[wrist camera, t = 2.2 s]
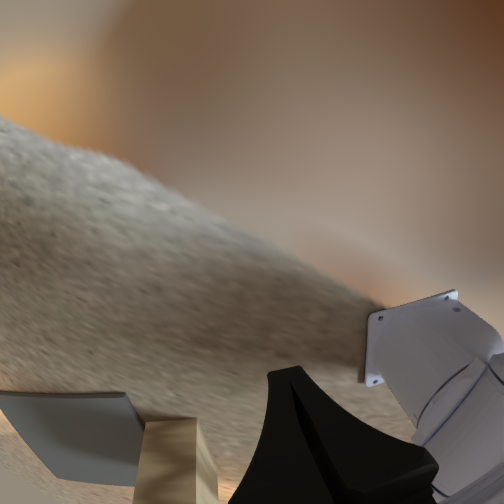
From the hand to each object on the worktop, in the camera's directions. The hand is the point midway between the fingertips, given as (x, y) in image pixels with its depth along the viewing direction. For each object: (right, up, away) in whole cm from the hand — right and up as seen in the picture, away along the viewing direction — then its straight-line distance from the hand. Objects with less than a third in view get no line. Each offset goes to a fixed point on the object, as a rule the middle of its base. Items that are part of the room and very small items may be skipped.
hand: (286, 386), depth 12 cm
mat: (-20, -16, +14) cm, 29 cm away
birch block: (-8, -14, +14) cm, 22 cm away
